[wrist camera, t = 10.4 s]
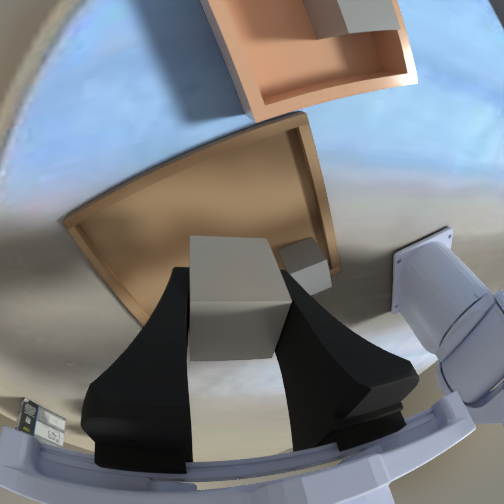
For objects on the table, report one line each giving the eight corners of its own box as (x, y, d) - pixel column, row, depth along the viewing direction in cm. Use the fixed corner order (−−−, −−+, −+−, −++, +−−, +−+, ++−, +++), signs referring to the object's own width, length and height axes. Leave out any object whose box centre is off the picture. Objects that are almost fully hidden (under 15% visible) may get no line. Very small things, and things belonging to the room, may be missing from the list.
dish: (386, 78, 15) (418, 83, 12) (245, 114, 16) (256, 123, 13) (342, -49, 9) (368, -64, 6) (187, -27, 10) (185, -48, 7)
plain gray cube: (318, 262, 23) (332, 286, 21) (286, 275, 23) (297, 300, 21) (312, 236, 21) (326, 259, 19) (278, 249, 22) (288, 274, 19)
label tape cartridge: (67, 418, 35) (61, 479, 25) (59, 421, 36) (54, 478, 26) (24, 396, 30) (13, 459, 21) (19, 400, 31) (9, 459, 21)
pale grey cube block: (254, 294, 15) (271, 358, 11) (188, 294, 14) (189, 360, 11) (266, 238, 13) (292, 300, 10) (190, 235, 12) (190, 301, 9)
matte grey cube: (317, 39, 13) (349, 33, 10) (299, -7, 11) (326, -25, 8) (363, 33, 13) (401, 29, 10) (347, -11, 11) (381, -25, 8)
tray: (336, 264, 24) (341, 271, 23) (156, 331, 25) (155, 339, 24) (300, 111, 16) (306, 113, 15) (66, 215, 17) (62, 222, 16)
